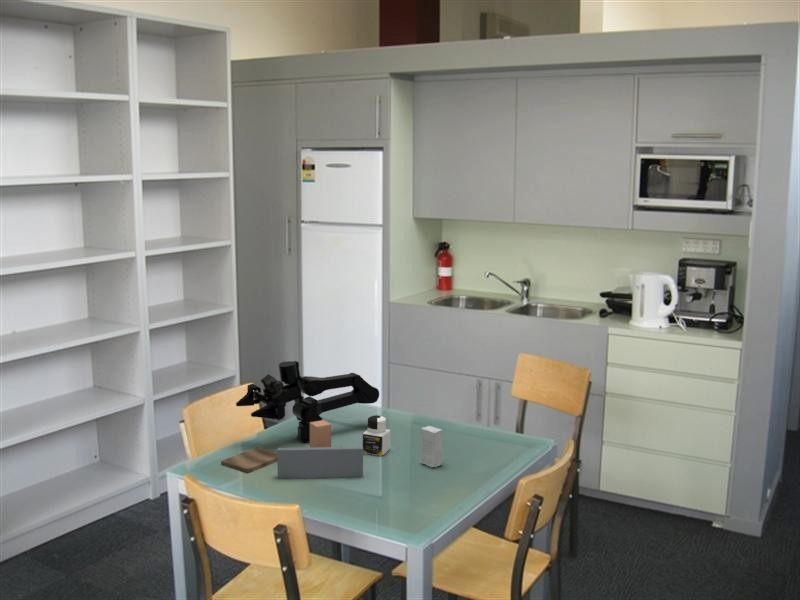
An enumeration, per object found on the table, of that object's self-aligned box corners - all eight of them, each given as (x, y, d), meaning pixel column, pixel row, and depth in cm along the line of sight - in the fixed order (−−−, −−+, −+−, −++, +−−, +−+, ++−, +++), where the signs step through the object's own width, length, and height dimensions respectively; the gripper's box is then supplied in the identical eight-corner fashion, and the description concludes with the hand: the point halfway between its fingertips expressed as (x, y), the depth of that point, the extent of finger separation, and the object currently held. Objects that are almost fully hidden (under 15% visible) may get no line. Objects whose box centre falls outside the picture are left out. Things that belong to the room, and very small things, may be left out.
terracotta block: (323, 461, 272) (323, 420, 269) (331, 466, 268) (331, 424, 265) (309, 464, 269) (309, 422, 267) (316, 469, 265) (316, 426, 262)
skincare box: (442, 465, 270) (443, 429, 268) (433, 469, 267) (434, 432, 265) (428, 460, 274) (429, 425, 272) (419, 463, 271) (420, 428, 269)
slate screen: (278, 471, 263) (278, 443, 262) (361, 469, 266) (362, 442, 264) (277, 478, 257) (277, 450, 256) (362, 476, 260) (363, 448, 258)
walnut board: (257, 450, 281) (257, 447, 280) (283, 458, 274) (283, 454, 274) (221, 464, 268) (221, 460, 268) (248, 473, 261) (248, 469, 261)
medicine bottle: (362, 453, 280) (362, 418, 278) (370, 446, 286) (371, 412, 284) (381, 456, 277) (382, 421, 275) (390, 449, 284) (390, 415, 282)
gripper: (267, 364, 287) (226, 377, 278) (298, 382, 274) (257, 397, 265) (269, 393, 291) (229, 407, 282) (300, 412, 278) (259, 429, 269)
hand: (243, 409), depth 274 cm, fingers open, 9 cm apart
